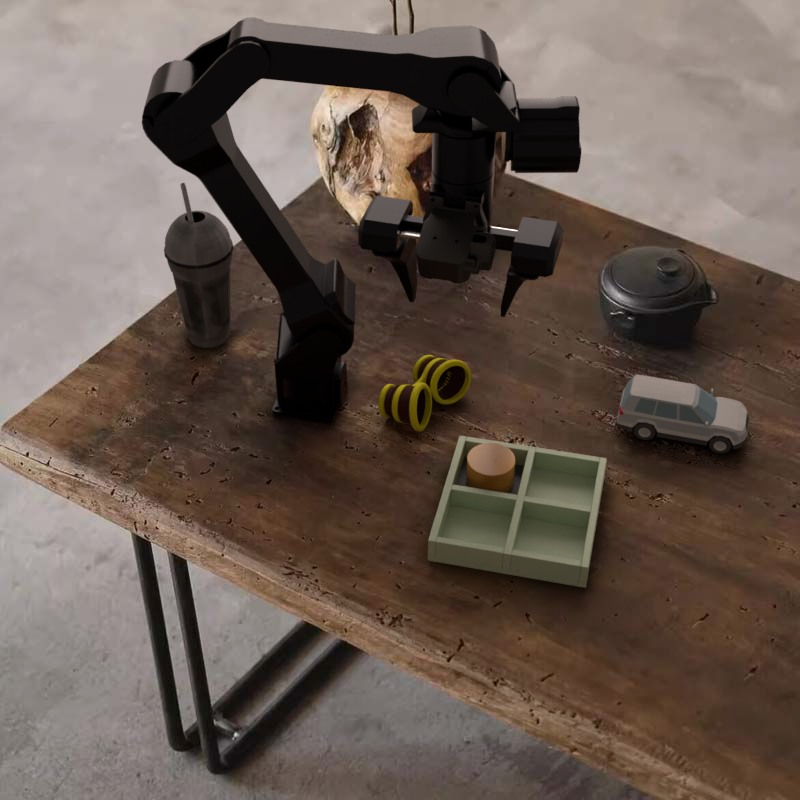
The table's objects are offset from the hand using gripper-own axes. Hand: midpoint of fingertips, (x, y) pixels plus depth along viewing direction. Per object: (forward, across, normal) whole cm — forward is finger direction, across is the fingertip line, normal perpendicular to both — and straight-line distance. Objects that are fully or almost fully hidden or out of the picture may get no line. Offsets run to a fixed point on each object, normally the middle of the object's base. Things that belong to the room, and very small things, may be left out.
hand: (457, 307), depth 130 cm
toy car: (+12, +23, +1) cm, 26 cm away
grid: (+12, +10, -15) cm, 22 cm away
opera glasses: (+12, -3, -2) cm, 13 cm away
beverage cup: (+12, -29, +4) cm, 31 cm away
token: (+11, +6, -12) cm, 18 cm away
